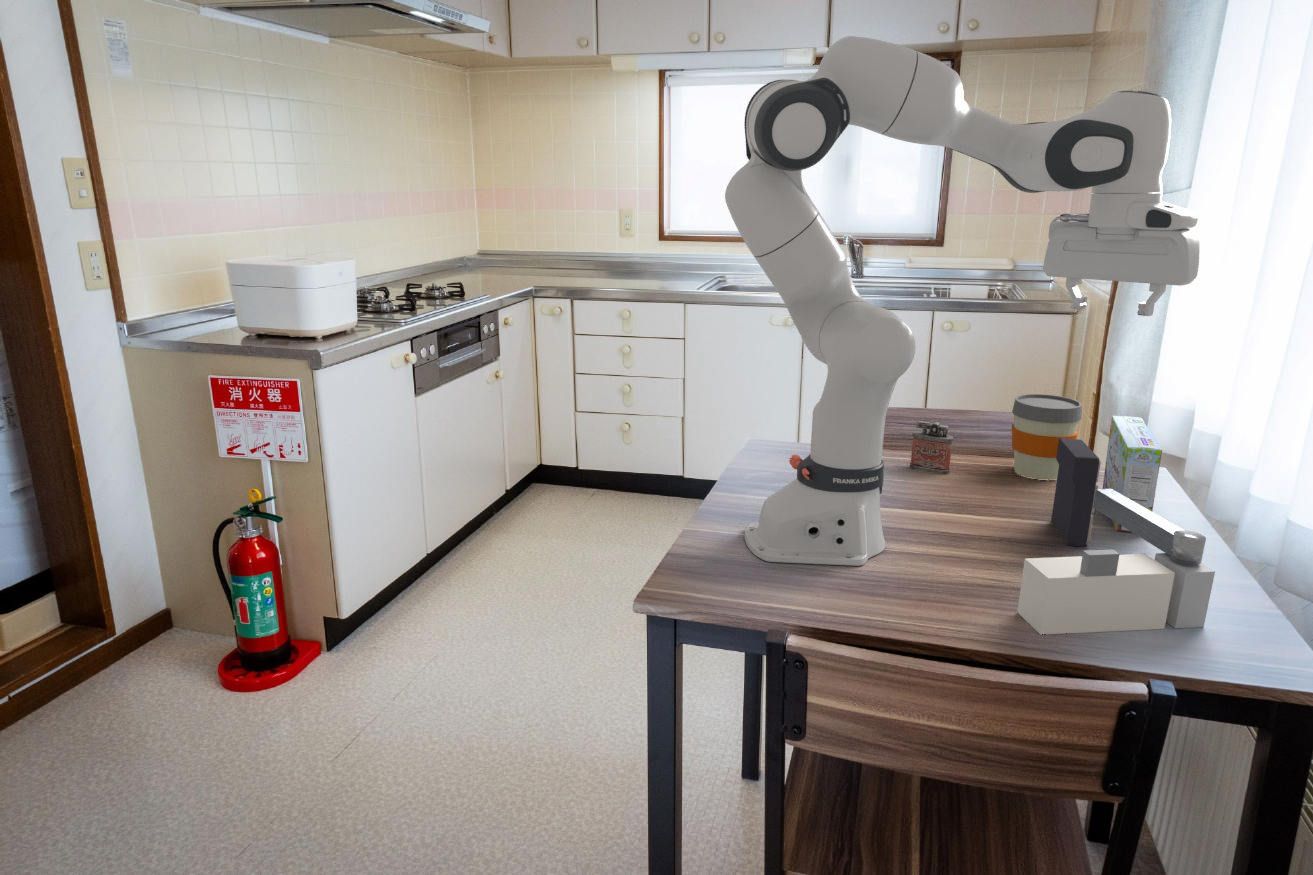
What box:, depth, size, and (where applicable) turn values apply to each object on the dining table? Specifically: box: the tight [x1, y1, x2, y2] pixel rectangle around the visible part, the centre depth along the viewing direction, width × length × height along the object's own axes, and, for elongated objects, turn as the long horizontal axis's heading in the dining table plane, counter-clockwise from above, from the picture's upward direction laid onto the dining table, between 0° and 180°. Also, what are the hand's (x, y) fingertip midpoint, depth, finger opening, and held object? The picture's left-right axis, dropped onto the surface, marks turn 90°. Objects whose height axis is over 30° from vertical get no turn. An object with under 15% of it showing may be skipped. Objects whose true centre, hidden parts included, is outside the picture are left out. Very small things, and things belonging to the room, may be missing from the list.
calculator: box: [1050, 438, 1102, 547], centre depth 141 cm, size 11×4×15 cm, turn 168°
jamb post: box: [1154, 552, 1216, 629], centre depth 114 cm, size 4×6×8 cm, turn 5°
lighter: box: [909, 420, 955, 476], centre depth 173 cm, size 8×3×10 cm, turn 58°
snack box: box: [1102, 415, 1163, 533], centre depth 151 cm, size 21×6×15 cm, turn 160°
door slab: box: [1017, 549, 1175, 636], centre depth 113 cm, size 17×6×11 cm, turn 95°
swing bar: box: [1093, 488, 1207, 565], centre depth 121 cm, size 21×4×3 cm, turn 5°
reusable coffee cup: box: [1011, 393, 1083, 480], centre depth 170 cm, size 13×13×15 cm
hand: (1110, 312), depth 125 cm, fingers open, 8 cm apart
